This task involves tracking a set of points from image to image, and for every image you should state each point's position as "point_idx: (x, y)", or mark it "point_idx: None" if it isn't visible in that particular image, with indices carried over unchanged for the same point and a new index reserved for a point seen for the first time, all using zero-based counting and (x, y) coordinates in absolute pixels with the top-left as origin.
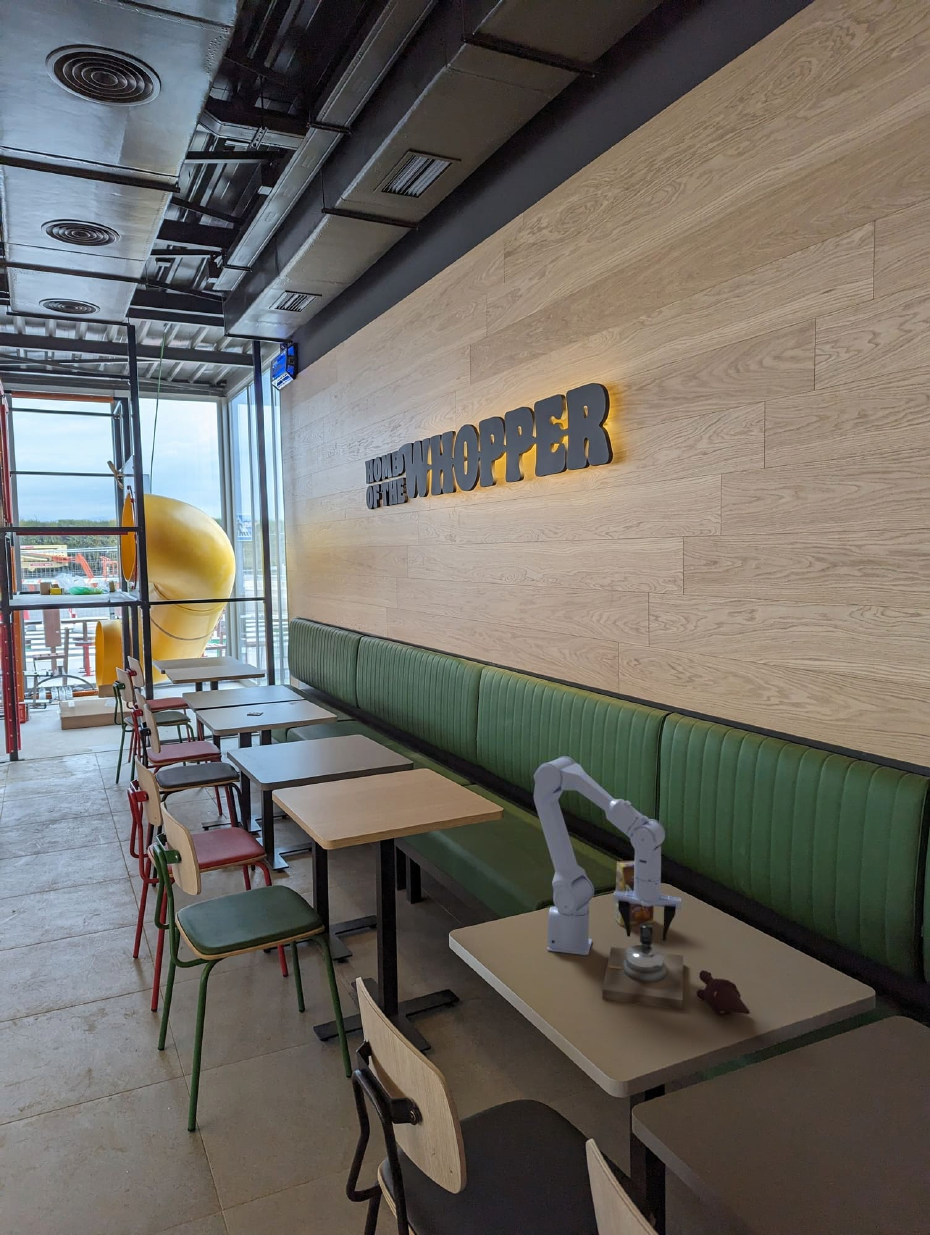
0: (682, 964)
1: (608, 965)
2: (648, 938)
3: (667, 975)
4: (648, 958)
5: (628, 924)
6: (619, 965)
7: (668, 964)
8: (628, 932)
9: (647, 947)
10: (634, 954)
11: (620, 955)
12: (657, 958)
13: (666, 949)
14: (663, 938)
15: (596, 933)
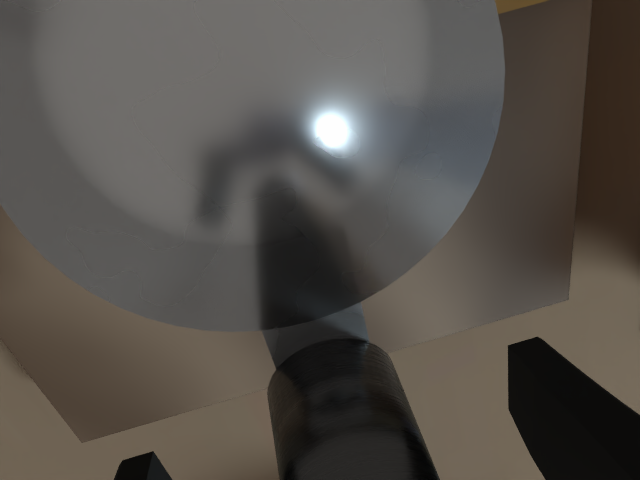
0: (13, 346)
1: (581, 6)
2: (306, 405)
3: None
4: (155, 18)
5: (628, 458)
6: None
7: None
8: (554, 372)
9: (282, 294)
10: (382, 39)
11: (495, 226)
12: (37, 90)
13: (251, 466)
14: (135, 476)
15: None
